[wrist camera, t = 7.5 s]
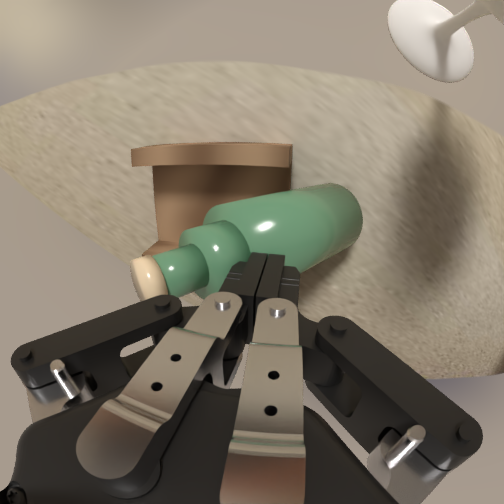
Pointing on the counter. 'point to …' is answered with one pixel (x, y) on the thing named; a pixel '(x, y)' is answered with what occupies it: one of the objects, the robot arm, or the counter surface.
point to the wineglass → (438, 35)
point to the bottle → (253, 239)
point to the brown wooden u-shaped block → (208, 180)
